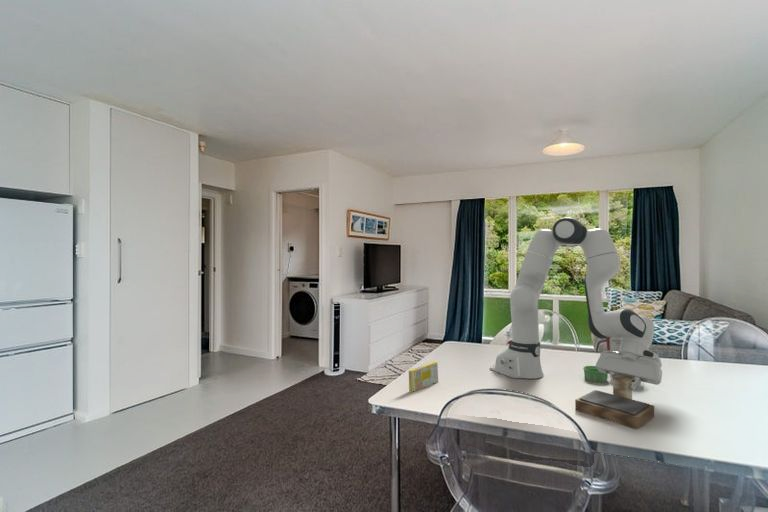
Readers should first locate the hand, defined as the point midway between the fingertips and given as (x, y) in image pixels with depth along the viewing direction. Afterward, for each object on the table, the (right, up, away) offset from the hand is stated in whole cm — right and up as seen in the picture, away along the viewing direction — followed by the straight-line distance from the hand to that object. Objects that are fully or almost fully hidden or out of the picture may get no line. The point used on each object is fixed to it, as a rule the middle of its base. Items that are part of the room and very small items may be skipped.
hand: (621, 387), depth 133 cm
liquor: (+20, -5, +37) cm, 42 cm away
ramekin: (+4, -5, +23) cm, 24 cm away
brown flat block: (-10, -5, -11) cm, 15 cm away
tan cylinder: (+1, -5, 0) cm, 5 cm away
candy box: (-68, -6, +16) cm, 70 cm away
